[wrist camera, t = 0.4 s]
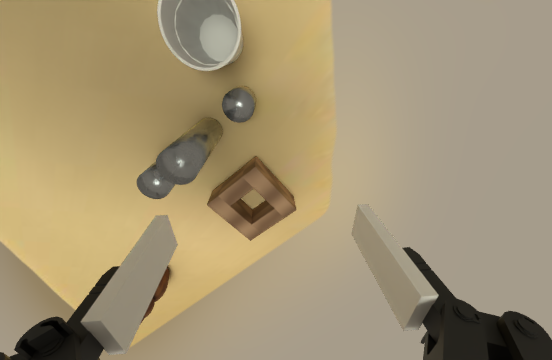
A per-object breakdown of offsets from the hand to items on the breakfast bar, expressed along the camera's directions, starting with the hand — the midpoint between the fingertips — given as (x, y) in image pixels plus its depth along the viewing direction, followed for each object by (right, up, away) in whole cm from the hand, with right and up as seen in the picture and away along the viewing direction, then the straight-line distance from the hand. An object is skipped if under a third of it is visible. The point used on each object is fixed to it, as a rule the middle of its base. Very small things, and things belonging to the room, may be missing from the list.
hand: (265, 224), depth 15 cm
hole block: (-4, 0, +29) cm, 29 cm away
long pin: (-11, +12, +22) cm, 28 cm away
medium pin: (-17, +8, +24) cm, 31 cm away
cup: (-7, +24, +16) cm, 30 cm away
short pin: (-5, +17, +20) cm, 27 cm away
